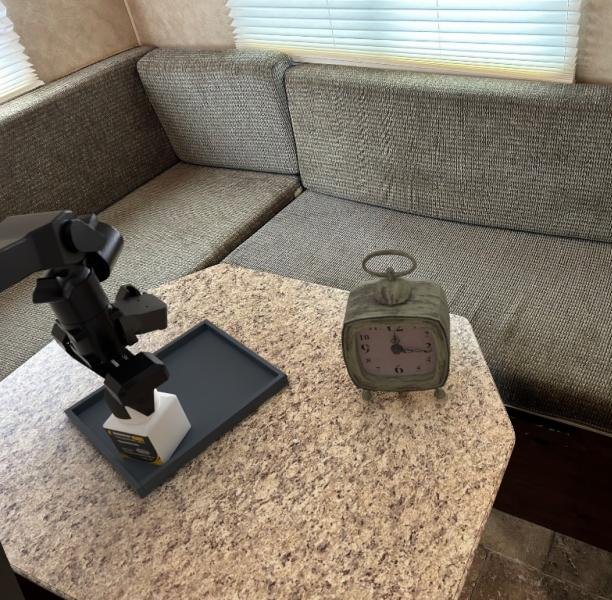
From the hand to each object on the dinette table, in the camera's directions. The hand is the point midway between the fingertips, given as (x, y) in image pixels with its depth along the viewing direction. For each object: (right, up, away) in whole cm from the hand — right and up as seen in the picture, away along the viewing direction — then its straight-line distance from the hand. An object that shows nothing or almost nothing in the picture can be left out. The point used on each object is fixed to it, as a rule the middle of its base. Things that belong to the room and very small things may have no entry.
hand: (132, 397), depth 80 cm
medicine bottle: (+1, -7, +6) cm, 10 cm away
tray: (+2, -3, +12) cm, 13 cm away
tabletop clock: (+36, 0, +11) cm, 38 cm away
